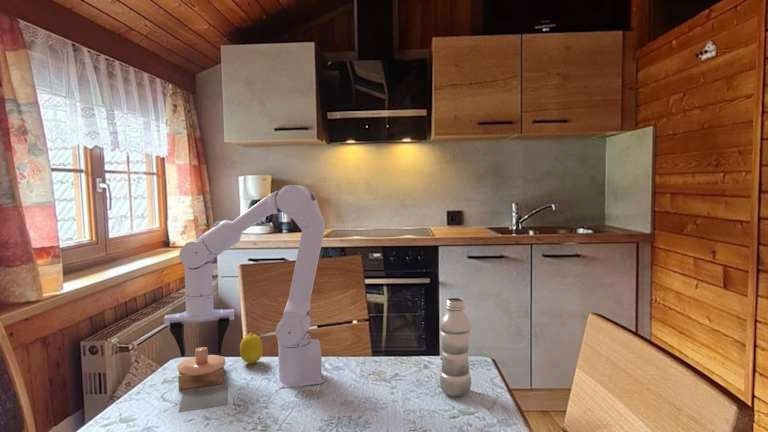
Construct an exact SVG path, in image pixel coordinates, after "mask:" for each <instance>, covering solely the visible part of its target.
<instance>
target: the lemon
mask: <svg viewBox="0 0 768 432" xmlns="http://www.w3.org/2000/svg"><path fill="white" fill-rule="evenodd" d="M239 344H240V345H239V354H240V357H241V359H242V360H243V362H244V363H247V364H249V365H253V364H255V363H257V362H258V361H259V360H260V359H261V358H262V356H263V353H264V344H263V342H262V339H261V337H260V336H259V335H257V334H254V333H253V332H249V334H246V335H245V336H244V337H243V338H242V340H241V341H240V343H239Z"/></svg>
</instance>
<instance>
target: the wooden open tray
mask: <svg viewBox="0 0 768 432" xmlns="http://www.w3.org/2000/svg"><path fill="white" fill-rule="evenodd" d="M221 356H222V357H224V356H223V355H221ZM224 358H225V357H224ZM224 375H225V366H224V367H223V368H221V369H220V370H217V371H215V372H212V373H208V374H204V375H194V376H191V375H183V374H180V373H179V372H178V376H177V377H178V378H177V379H178V391H185V390H192V389H199V388H200V389H201V388H205V387H206V388H207V387H208V388H209V387H213V386H214V387H215V386H222V385H224Z"/></svg>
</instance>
